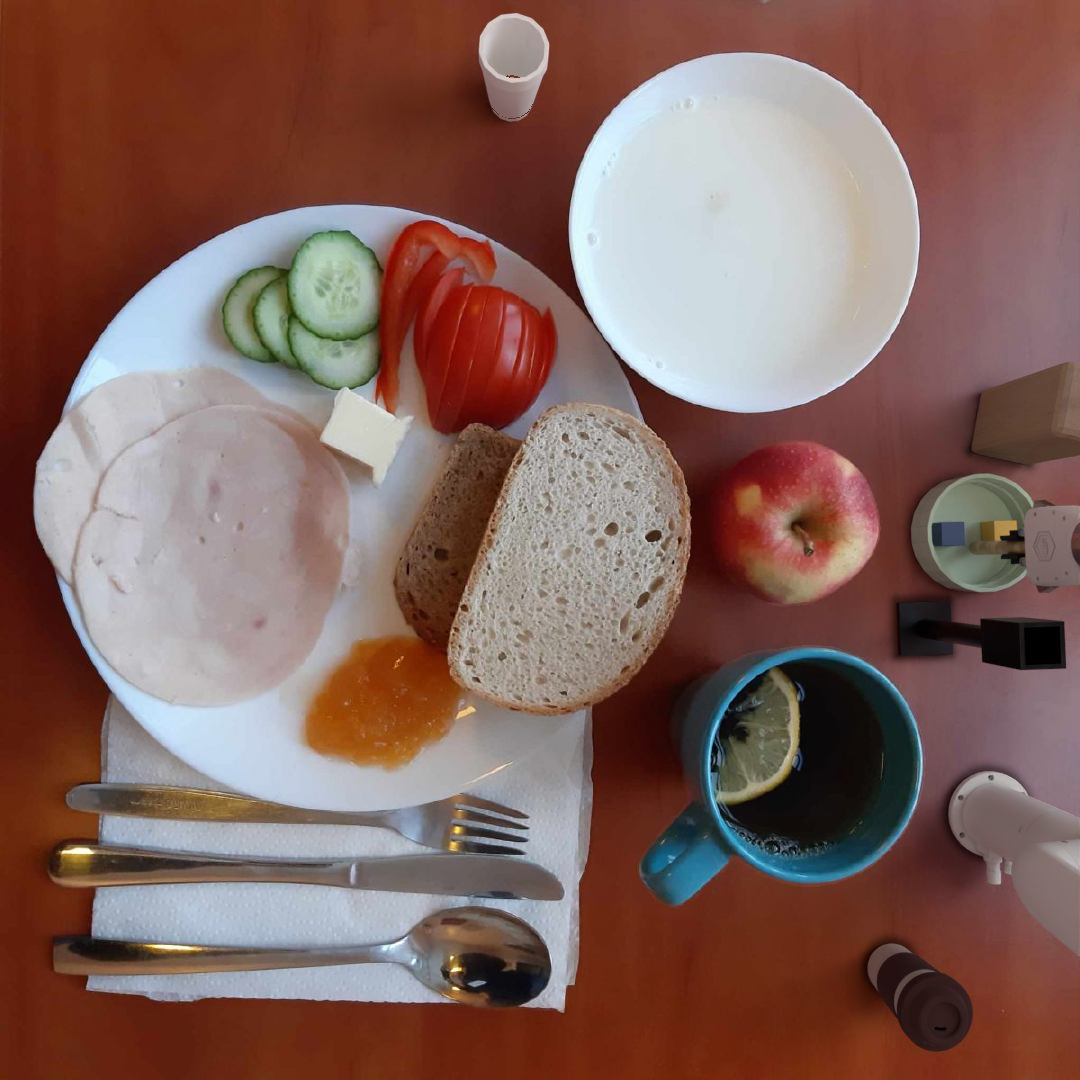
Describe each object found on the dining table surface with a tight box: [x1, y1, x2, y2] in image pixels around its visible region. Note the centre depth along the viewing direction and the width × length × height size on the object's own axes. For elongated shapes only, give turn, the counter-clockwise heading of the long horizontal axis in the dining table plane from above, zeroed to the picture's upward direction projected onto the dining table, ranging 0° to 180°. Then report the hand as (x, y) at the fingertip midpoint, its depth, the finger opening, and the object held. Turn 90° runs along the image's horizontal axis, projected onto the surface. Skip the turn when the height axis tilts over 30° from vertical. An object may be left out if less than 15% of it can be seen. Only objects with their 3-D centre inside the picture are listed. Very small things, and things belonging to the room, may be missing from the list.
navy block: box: [931, 522, 965, 546], centre depth 127 cm, size 4×4×4 cm
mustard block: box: [980, 520, 1017, 541], centre depth 127 cm, size 4×4×4 cm
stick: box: [969, 540, 1025, 555], centre depth 120 cm, size 2×2×14 cm
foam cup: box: [478, 12, 550, 123], centre depth 120 cm, size 10×9×13 cm
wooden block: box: [971, 360, 1080, 466], centre depth 120 cm, size 10×10×20 cm
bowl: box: [910, 473, 1034, 593], centre depth 126 cm, size 17×17×6 cm
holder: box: [895, 600, 1067, 671], centre depth 115 cm, size 8×8×28 cm
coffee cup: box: [867, 943, 974, 1053], centre depth 119 cm, size 10×10×15 cm
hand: (1010, 547), depth 119 cm, fingers closed on stick, 2 cm apart
